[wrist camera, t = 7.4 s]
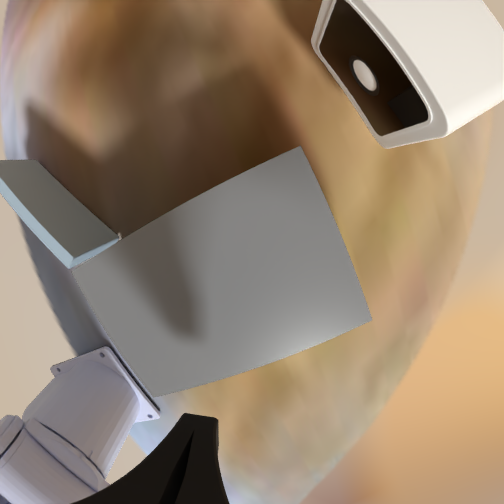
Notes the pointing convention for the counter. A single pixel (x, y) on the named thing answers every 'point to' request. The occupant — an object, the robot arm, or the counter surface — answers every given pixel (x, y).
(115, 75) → the counter surface
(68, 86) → the counter surface
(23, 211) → the side door
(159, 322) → the camera case
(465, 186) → the counter surface
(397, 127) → the security camera
